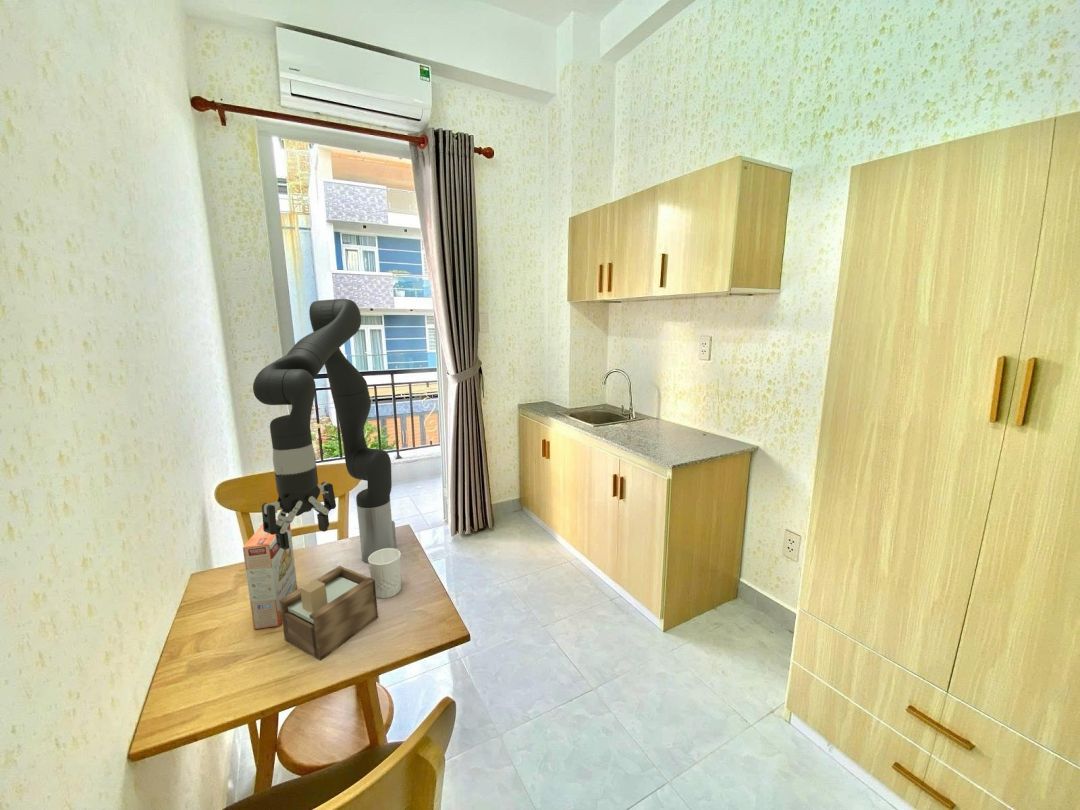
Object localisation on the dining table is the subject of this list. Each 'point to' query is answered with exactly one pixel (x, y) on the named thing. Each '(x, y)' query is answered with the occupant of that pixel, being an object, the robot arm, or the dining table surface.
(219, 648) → the dining table surface
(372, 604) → the walnut box
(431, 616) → the dining table surface
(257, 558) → the cracker box
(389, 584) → the white cup
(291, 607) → the lid
